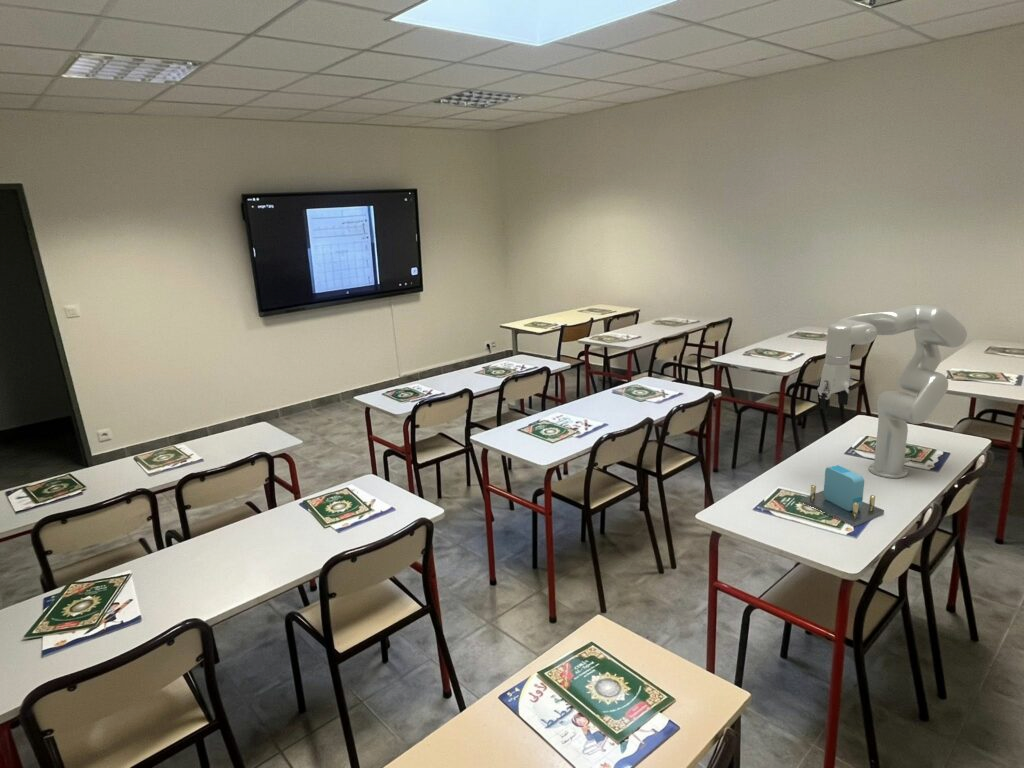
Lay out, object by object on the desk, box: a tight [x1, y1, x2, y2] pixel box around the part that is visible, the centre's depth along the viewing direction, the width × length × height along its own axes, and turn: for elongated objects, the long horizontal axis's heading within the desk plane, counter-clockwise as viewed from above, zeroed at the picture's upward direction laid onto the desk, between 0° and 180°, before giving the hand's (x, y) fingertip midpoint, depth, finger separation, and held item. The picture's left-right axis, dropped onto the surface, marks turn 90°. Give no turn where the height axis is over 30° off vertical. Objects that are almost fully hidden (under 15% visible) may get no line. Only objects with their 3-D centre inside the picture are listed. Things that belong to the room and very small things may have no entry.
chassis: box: [799, 484, 885, 527], centre depth 206 cm, size 15×20×6 cm
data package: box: [823, 465, 865, 511], centre depth 205 cm, size 12×4×12 cm, turn 18°
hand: (833, 406), depth 216 cm, fingers open, 9 cm apart
